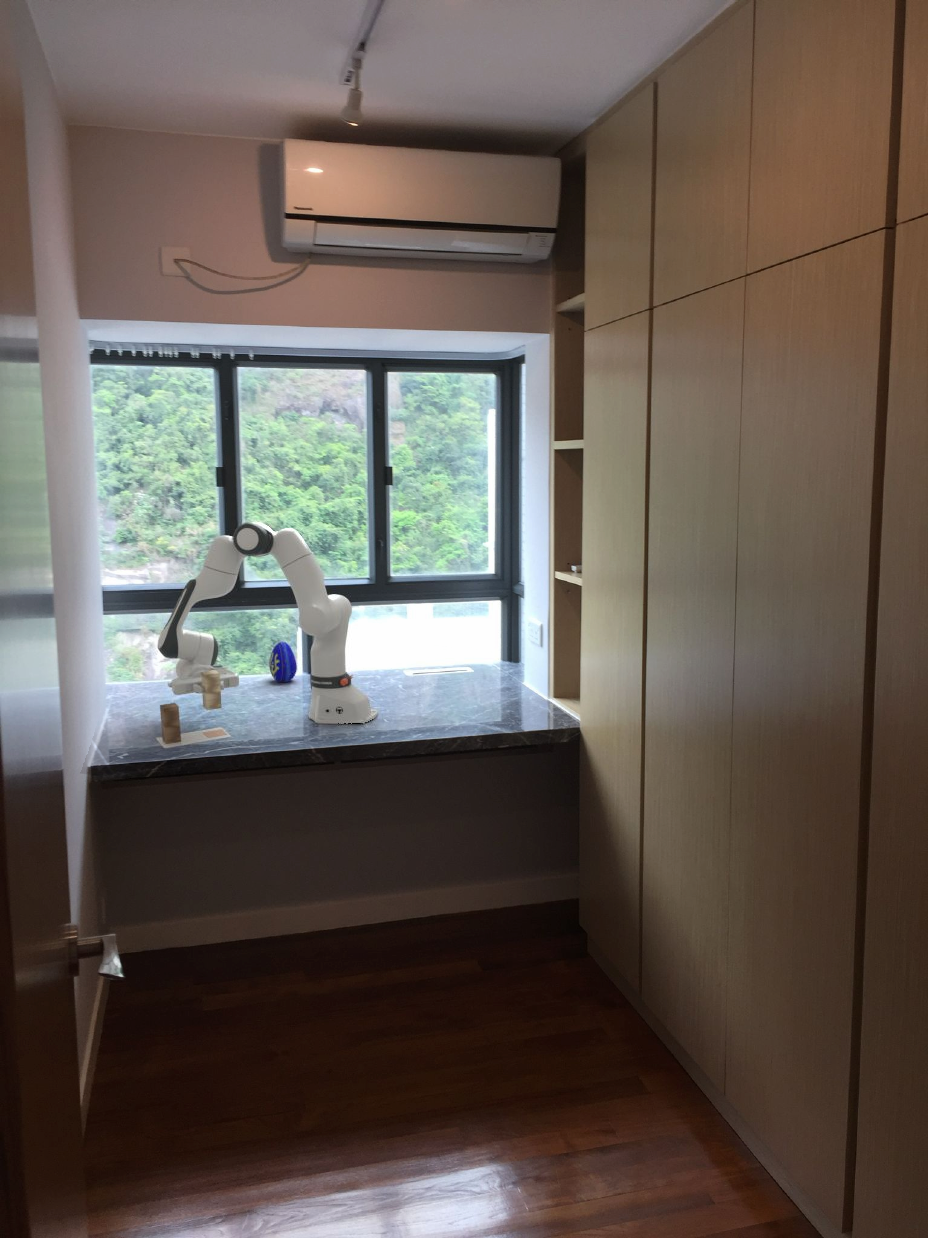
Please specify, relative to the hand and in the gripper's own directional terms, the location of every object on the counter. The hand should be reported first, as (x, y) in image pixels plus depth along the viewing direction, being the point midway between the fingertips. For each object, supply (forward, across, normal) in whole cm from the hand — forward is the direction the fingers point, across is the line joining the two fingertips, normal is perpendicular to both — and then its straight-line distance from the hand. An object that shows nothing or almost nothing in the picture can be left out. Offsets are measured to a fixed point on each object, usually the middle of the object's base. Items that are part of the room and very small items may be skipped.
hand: (212, 689), depth 286 cm
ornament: (-50, +41, +15) cm, 66 cm away
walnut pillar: (-1, -13, +14) cm, 19 cm away
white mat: (-1, -6, +15) cm, 16 cm away
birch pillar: (-1, 0, +6) cm, 6 cm away
